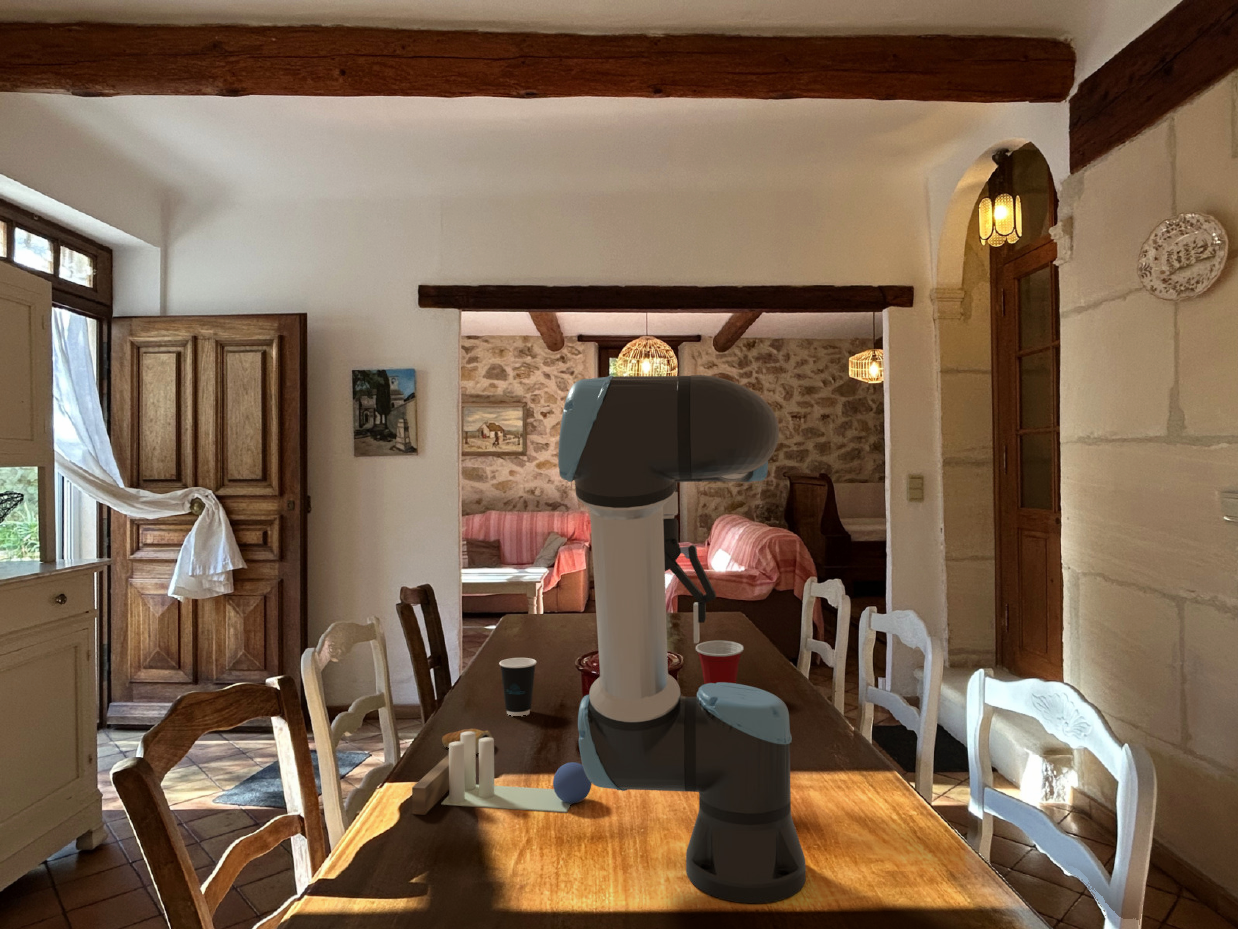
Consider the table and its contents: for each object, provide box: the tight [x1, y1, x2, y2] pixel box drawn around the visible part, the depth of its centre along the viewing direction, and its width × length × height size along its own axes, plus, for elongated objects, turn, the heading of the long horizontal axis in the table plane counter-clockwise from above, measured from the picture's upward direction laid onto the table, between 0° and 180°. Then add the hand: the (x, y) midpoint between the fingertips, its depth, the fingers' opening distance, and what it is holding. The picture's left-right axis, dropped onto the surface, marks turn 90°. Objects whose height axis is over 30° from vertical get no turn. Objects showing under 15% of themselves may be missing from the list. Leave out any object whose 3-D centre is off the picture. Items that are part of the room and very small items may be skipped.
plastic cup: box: [695, 640, 744, 685], centre depth 183 cm, size 11×11×12 cm
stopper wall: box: [411, 753, 449, 816], centre depth 131 cm, size 16×2×4 cm, turn 170°
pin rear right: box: [448, 741, 465, 803], centre depth 127 cm, size 2×2×9 cm
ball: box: [552, 761, 592, 804], centre depth 127 cm, size 6×6×6 cm
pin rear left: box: [460, 731, 477, 791], centre depth 132 cm, size 2×2×9 cm
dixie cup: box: [498, 657, 538, 717], centre depth 173 cm, size 8×8×11 cm
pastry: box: [441, 728, 493, 755], centre depth 152 cm, size 9×7×4 cm
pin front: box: [478, 737, 495, 798], centre depth 129 cm, size 2×2×9 cm
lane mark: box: [441, 783, 573, 813], centre depth 128 cm, size 8×20×1 cm, turn 80°
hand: (657, 641), depth 140 cm, fingers open, 13 cm apart
